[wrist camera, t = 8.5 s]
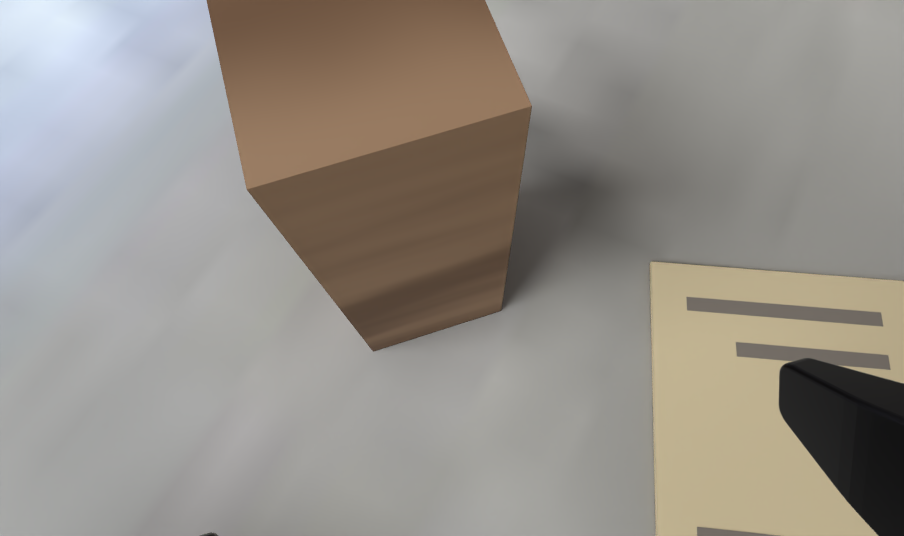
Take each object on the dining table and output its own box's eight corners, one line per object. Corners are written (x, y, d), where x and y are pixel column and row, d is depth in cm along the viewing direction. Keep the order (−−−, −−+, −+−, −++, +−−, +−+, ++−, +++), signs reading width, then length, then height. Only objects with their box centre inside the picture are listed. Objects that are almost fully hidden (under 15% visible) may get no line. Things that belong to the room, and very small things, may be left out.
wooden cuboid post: (500, 310, 21) (531, 106, 9) (373, 351, 20) (246, 189, 9) (460, 198, 22) (444, -91, 11) (341, 234, 22) (201, -26, 11)
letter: (980, 680, 16) (987, 683, 16) (657, 641, 17) (660, 643, 17) (906, 283, 20) (911, 281, 20) (649, 263, 21) (651, 261, 21)
